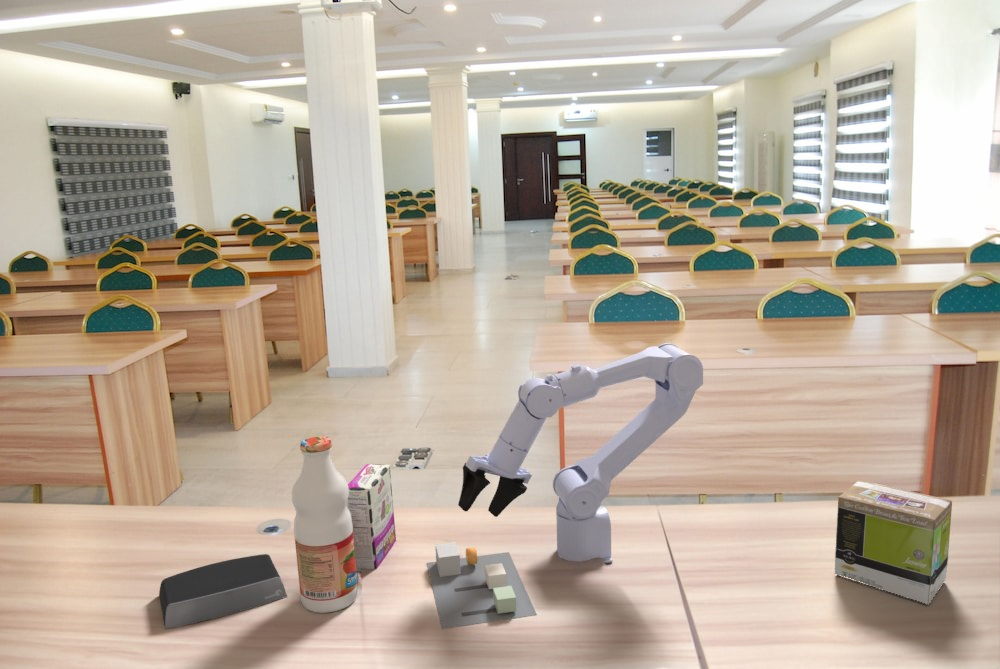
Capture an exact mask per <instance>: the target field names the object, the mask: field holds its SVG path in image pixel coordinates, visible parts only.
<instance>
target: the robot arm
mask: <svg viewBox="0 0 1000 669" xmlns="http://www.w3.org/2000/svg"><path fill="white" fill-rule="evenodd" d="M642 377H644V378H648V379H651V380H654V383H655V399H654V400H652V402H651V403H649V404H648V405H647V406H646V407H644V408H643V410H642V411H641V412H639V413H638V414H637V415H636V416H635V417H634V418H632V419H631V420H630V421H629V422H628V423H627V424H626V425H625V426H624V427H623V428H622V429H620V431H618V432H617V433H616V434H615V435H614V436H613V437H611V439H609V441H607V442H606V443H605V444H604V445H602V446H601V447H600V448H599V449H598V450H597V451H596V452H595V453H594V454H592V456H589V457H586V458H581V459H579V460H577V461H576V462H575V463H573V464H572V465H570V466H566V467H563V468H562V469H560V470H559V471H558V472H556V473H555V475H554V477H553V480H552V488H553V492H554V493H555V494H556V496H557V497H558V501H557V504H556V507H555V509H556V510H555V513H556V553H557V555H558V557H560V558H561V559H563V560H566V561H569V562H587V561H589V560H593V559H595V558H597V559H598V558H601V560H602V561H603V563H605V564H608V563H612V562H613V558H612V524H611V518H610V515H609V512H608V510H607V508H606V507H605V506H601V504H602V502H603V501H604V499H605V498H607V496H608V495H609V494H610V490H611V486H612V485H611V484H612V481H613V480H614V479H615V478H616V477H617V476H618V475H619V474H620V473H622V472H623V471H624V470H625V469H626V468H627V467H628V466H630V464H631V463H633V461H635V460H636V459H637V458H638V457H639V456H640V455H642V454H643V453H644V452H645V451H646V450H647V449H648V448H649V447H651V445H653V443H655V442H656V441H657V440H658V439H659V438H660V437H661V436H663V434H664V433H666V432H667V431H669V429H670V428H671V427H672V426H673V425H674V424H676V423H677V422H678V421H679V420H680V419H681V418H683V417H684V415H685V414H686V412H687V411H688V409H689V408H690V404H691V403H692V400H693V399H694V396H695V394H696V392H697V390H699V389H700V387H701V386H703V384H704V366H703V363H702V362H701V360H700V358H698V357H697V356H695V355H694V354H691V353H688V352H687V351H686V350H683V349H681V348H680V347H678V346H677V345H676V344H673V343H669V342H666V343H665V342H664V343H661V344H659V345H658V346H649V347H647V348H645V349H644V350H641V351H639V352H637V353H634V354H632V355H629V356H627V357H624V358H621V359H618V360H616V361H614V362H610V363H607V364H606V365H602V366H600V367H598V368H595V369H594V368H591V367H589V366H587V365H579V363H577V364H573V365H571V369H568V370H565V371H563V372H559V373H556V374H551V373H548V374H546V375H545V378H541V377H533V378H529V379H528V380H526V381H525V383H523V384H521V385H519V388H518V391H517V396H518V401H517V403H516V405H515V406H514V408H513V411H511V413H510V415H509V417H508V418H507V421H506V422H505V424H504V426H503V429H502V430H501V432H500V434H499V436H498V438H497V440H496V442H495V444H494V446H493V447H492V449H491V451H490V453H485V455H484V456H483V455H482V456H479V455H478V456H475V455H469V457H468V459H467V461H466V462H465V463H464V465H463V466H462V474H463V475H462V476H463V477H462V486H461V492H460V497H459V500H458V506H459V508H460V509H461V510H463V511H464V512H469V510H470V509H471V508H472V506H473V504H474V502H476V499H477V498H478V496H479V495H480V494H481V492H482V491H483V490H484V489H485V488H486V487H487V486H489V485H490V484H491V481H490V480H489V479H487V477H486V474H489V475H495V476H497V477H499V481H498V484H497V488H496V490H495V493H494V495H493V497H492V500H491V501H490V503H489V506H488V509H487V511H488V512H490V513H491V514H492V515H493V517H495V518H497V517H498V516H499V515H500V514H501V513H502V512H503V511H504V510H505V509H506V508H507V507H508V506H509V505H510V504H511V503H512V502H513V501H515V499H518V497H520V496H521V495H524V494H525V493H526V491H527V490H528V487H527V486H526V485H525V484H527V485H528V484H529V482H530V480H531V478H532V476H533V474H532V473H531V472H530V471H529V470H528V469H526V468H523V467H521V466H522V465H523V463H524V461H525V460H526V457H527V455H528V454H529V452H530V449H531V448H532V446H533V444H534V442H535V440H536V439H537V437H538V435H539V433H540V431H541V430H542V427H543V425H544V423H545V422H546V420H547V418H552V417H553V416H554V415H556V413H558V411H559V410H560V409H562V408H565V407H568V406H571V405H574V404H576V403H580V402H583V401H586V400H589V399H593V398H595V397H596V396H597V395H598V393H599V391H600V389H602V388H604V387H609V386H612V385H616V384H620V383H624V382H627V381H631V380H635V379H636V380H637V379H640V378H642Z"/></svg>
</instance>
